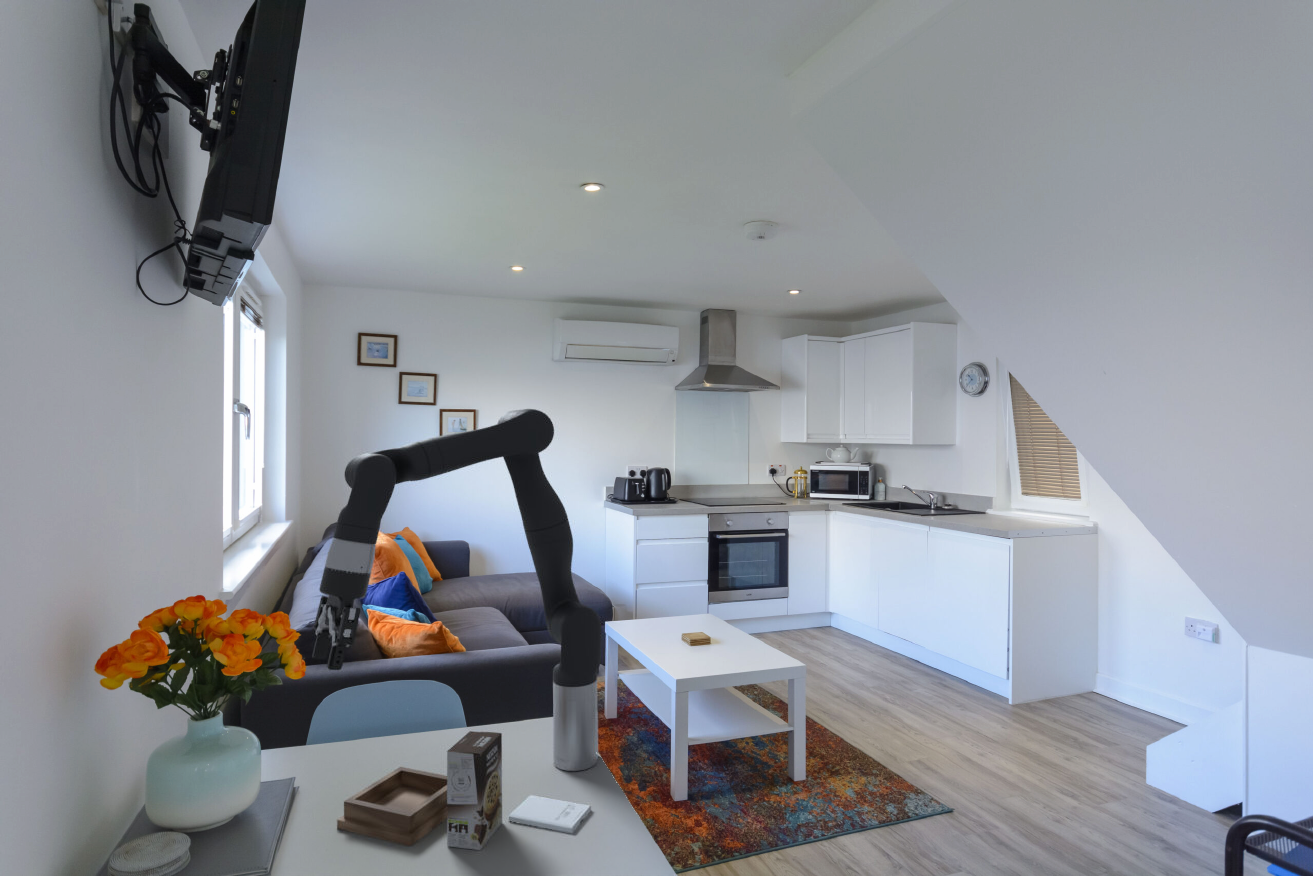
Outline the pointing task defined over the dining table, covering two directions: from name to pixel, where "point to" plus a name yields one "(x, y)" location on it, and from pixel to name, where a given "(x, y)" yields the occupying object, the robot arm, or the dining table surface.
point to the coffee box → (474, 789)
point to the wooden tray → (398, 806)
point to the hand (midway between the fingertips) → (326, 664)
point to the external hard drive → (550, 813)
